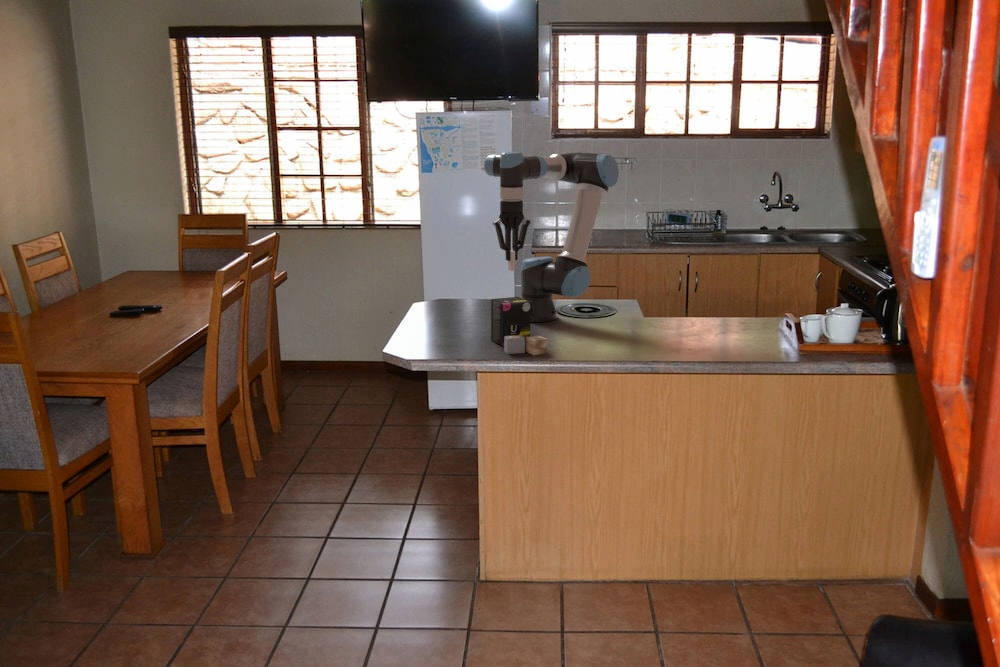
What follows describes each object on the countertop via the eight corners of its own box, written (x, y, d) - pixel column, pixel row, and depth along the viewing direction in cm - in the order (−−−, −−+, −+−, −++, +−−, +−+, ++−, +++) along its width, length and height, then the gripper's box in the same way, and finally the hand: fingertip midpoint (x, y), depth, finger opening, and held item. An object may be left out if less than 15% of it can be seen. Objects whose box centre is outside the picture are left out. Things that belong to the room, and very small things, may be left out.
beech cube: (538, 349, 296) (538, 334, 295) (546, 353, 292) (547, 338, 291) (525, 351, 294) (526, 336, 293) (533, 355, 290) (533, 340, 288)
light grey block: (522, 349, 296) (522, 334, 295) (524, 353, 292) (524, 337, 291) (504, 350, 295) (504, 335, 294) (506, 354, 291) (506, 338, 290)
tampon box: (502, 346, 299) (502, 304, 295) (490, 340, 307) (490, 298, 303) (531, 343, 304) (531, 301, 300) (518, 336, 312) (518, 295, 308)
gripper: (525, 197, 300) (525, 266, 306) (489, 199, 296) (489, 269, 302) (534, 200, 293) (533, 270, 300) (497, 202, 289) (497, 273, 295)
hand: (511, 269), depth 301 cm, fingers closed
